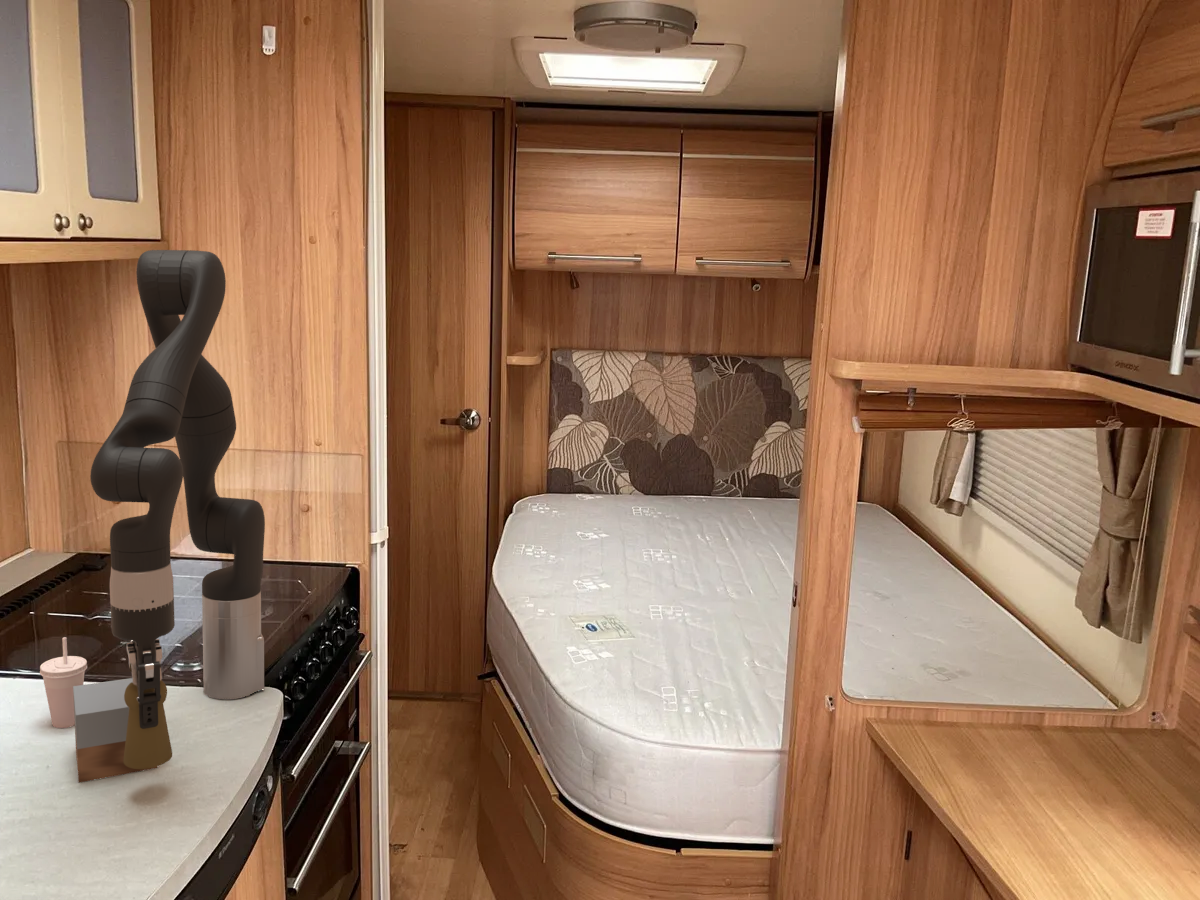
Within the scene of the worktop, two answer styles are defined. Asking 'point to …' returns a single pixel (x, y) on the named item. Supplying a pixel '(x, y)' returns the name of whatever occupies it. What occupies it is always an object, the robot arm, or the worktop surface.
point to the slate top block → (100, 713)
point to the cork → (146, 734)
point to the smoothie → (62, 685)
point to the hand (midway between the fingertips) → (146, 716)
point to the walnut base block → (102, 761)
